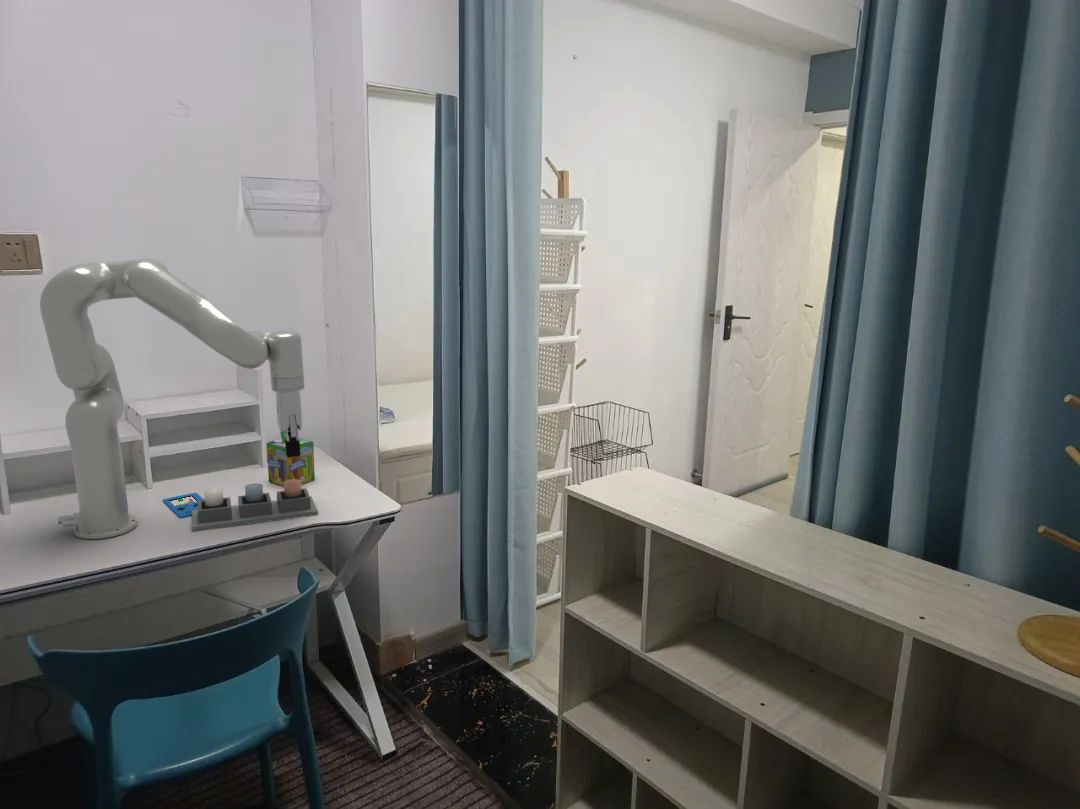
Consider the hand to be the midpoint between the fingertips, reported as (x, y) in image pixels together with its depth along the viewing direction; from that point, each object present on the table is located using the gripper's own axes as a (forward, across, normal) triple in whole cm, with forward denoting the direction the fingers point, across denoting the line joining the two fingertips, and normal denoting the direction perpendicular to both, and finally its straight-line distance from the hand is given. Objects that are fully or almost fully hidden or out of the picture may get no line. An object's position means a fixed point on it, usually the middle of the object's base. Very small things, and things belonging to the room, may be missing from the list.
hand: (293, 455), depth 178 cm
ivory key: (+10, 0, -19) cm, 21 cm away
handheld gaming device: (+14, -12, -25) cm, 31 cm away
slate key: (+10, 0, -10) cm, 14 cm away
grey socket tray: (+14, 0, -10) cm, 17 cm away
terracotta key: (+10, 0, -1) cm, 10 cm away
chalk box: (+14, -22, +1) cm, 26 cm away
